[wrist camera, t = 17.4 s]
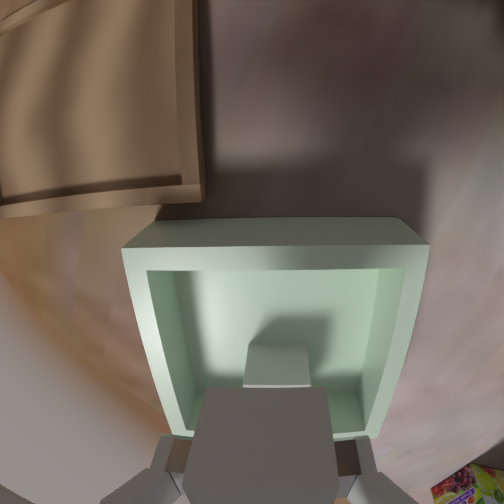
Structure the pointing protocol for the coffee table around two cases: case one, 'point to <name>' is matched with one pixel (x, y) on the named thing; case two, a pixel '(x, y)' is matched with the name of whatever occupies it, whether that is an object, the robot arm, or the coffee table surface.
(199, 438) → the stone cube
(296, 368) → the stone cube
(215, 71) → the coffee table surface
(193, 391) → the green bin
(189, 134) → the walnut tray
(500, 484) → the snack box
